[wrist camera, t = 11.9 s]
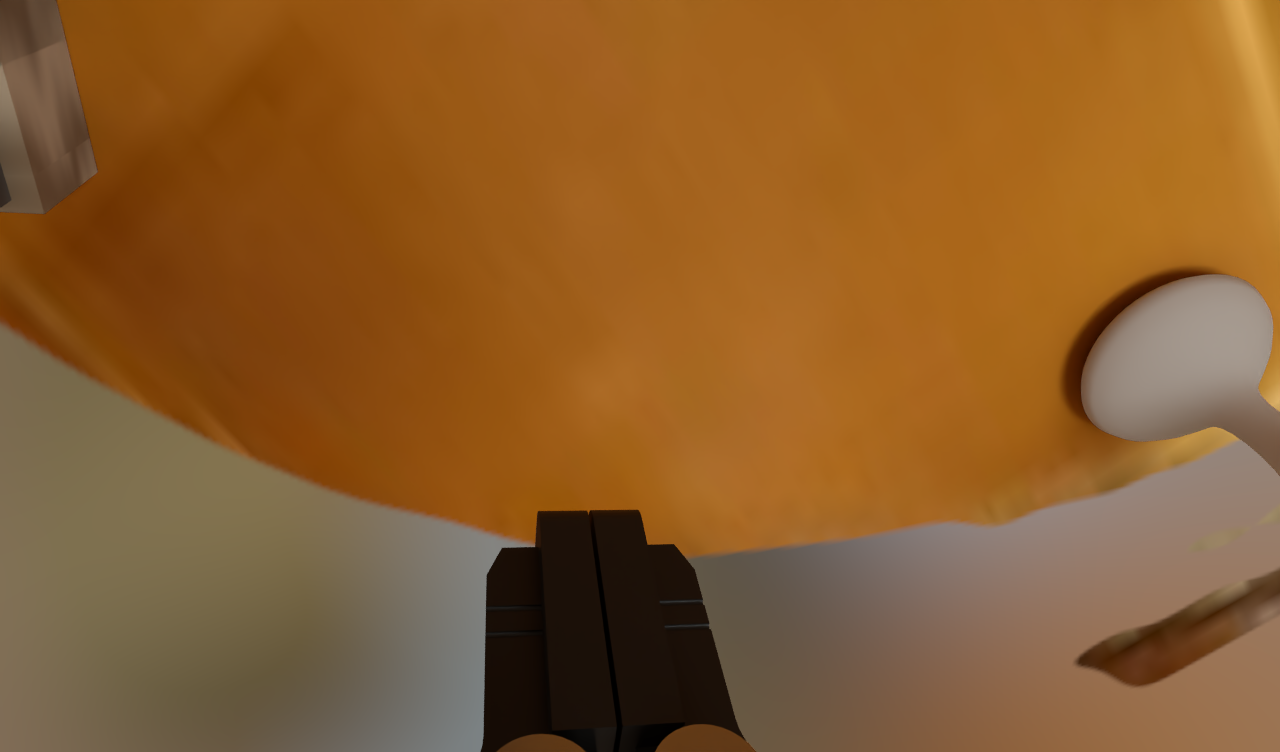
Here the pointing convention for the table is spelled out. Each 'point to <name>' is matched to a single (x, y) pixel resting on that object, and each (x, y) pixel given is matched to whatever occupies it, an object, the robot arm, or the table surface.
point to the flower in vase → (1186, 365)
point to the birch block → (39, 111)
